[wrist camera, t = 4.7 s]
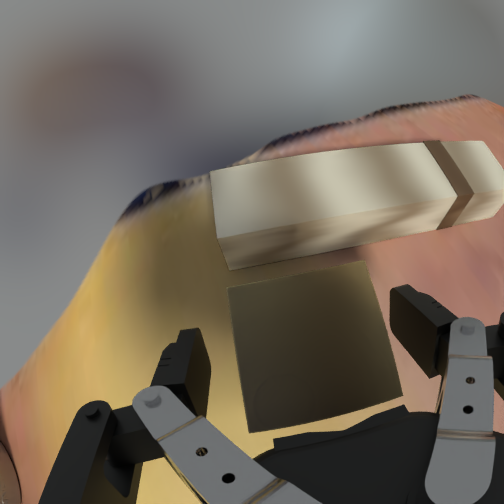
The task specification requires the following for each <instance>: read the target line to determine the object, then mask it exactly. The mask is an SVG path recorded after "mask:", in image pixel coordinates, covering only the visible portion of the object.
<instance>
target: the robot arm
mask: <svg viewBox="0 0 504 504" xmlns="http://www.w3.org/2000/svg"><path fill="white" fill-rule="evenodd" d="M390 327H391V330H392V333H393V334H394V336H395V337H396V338H397V339H398V340H399V342H400V343H401V344H402V345H403V347H404V348H405V349H406V350H407V351H408V353H409V354H410V355H411V356H412V358H413V359H414V360H415V361H416V363H417V364H418V365H419V366H420V368H421V369H422V370H423V371H424V373H425V374H426V375H427V376H428V378H429V379H430V378H432V377H435V376H437V375H441V376H442V377H441V382H440V387H439V392H438V398H437V403H436V408H435V412H434V413H433V412H408V410H407V409H406V407H405V405H401V406H398V407H396V408H393V409H390V410H387V411H384V412H381V413H378V414H375V415H373V416H371V417H369V418H367V419H366V420H364V421H362V422H360V423H358V424H356V425H354V426H352V427H350V428H348V429H346V430H343V431H330V432H307V433H302V434H297V435H292V436H286V437H281V438H275V439H273V442H274V448H273V449H271V450H268V451H266V452H264V453H262V454H260V455H258V456H256V457H255V458H253V459H252V458H250V457H249V456H248V455H247V454H246V453H244V452H243V451H242V450H241V449H240V448H238V447H237V446H236V445H235V444H234V443H232V442H231V441H230V440H229V439H228V438H227V437H226V436H224V435H223V434H222V433H221V432H220V431H219V430H218V429H217V428H215V427H214V426H213V425H212V424H211V423H210V422H209V421H208V420H207V419H206V414H207V405H208V396H209V387H210V378H211V365H210V360H209V356H208V353H207V350H206V347H205V344H204V341H203V337H202V334H201V331H200V329H199V328H192V329H186V330H181V331H180V333H179V336H178V339H177V342H176V343H170V344H169V345H168V346H167V347H166V348H165V349H164V350H163V352H162V355H161V358H160V361H159V363H158V367H157V368H156V371H155V374H154V377H153V379H152V382H151V385H150V387H148V388H145V389H143V390H142V391H140V392H139V393H138V394H137V395H136V396H135V397H134V399H133V402H132V405H130V406H127V407H123V408H119V409H115V410H112V409H111V407H110V405H109V404H108V403H107V402H105V401H101V400H97V401H92V402H89V403H87V404H85V405H84V406H82V407H81V408H80V409H79V410H78V412H77V414H76V416H75V418H74V420H73V422H72V424H71V426H70V429H69V431H68V433H67V435H66V437H65V440H64V442H63V444H62V446H61V449H60V451H59V453H58V456H57V458H56V460H55V463H54V465H53V467H52V470H51V472H50V475H49V477H48V480H47V482H46V485H45V487H44V490H43V493H42V495H41V498H40V501H39V503H38V504H136V500H137V494H138V488H139V482H140V477H141V471H142V466H143V462H146V461H150V460H154V459H158V458H162V457H164V458H165V459H166V461H167V462H168V463H169V465H170V466H171V467H172V468H173V470H174V471H175V472H176V474H177V475H178V476H179V477H180V478H181V480H182V481H183V482H184V483H185V485H186V486H187V487H188V488H189V489H190V491H191V492H192V493H193V494H194V495H195V497H196V498H197V499H198V500H199V501H200V503H201V504H504V434H502V433H499V432H495V431H493V413H494V389H495V390H496V392H497V393H498V394H499V395H500V396H501V398H502V399H503V400H504V312H503V313H502V314H501V316H500V321H499V324H498V325H492V326H486V327H485V326H484V324H483V323H482V322H481V321H480V320H478V319H475V318H471V317H462V318H458V317H457V316H455V315H454V314H453V313H452V312H450V311H449V310H448V309H447V308H445V307H444V306H442V305H441V304H440V303H439V302H437V301H436V300H435V299H434V298H433V297H431V296H430V295H427V294H424V293H421V292H417V291H416V290H415V289H414V288H412V287H411V286H410V285H408V284H406V285H402V286H398V287H395V288H392V289H391V290H390ZM0 504H21V495H20V488H19V483H18V480H17V476H16V473H15V470H14V467H13V464H12V462H11V460H10V458H9V456H8V453H7V452H6V450H5V448H4V446H3V444H2V443H1V442H0Z"/></svg>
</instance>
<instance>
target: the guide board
mask: <svg viewBox="0 0 504 504" xmlns="http://www.w3.org/2000/svg"><path fill="white" fill-rule="evenodd" d="M210 179H211V189H212V198H213V207H214V216H215V225H216V234H217V240H218V242H219V245H220V247H221V250H222V253H223V255H224V258H225V260H226V263H227V265H228V268H229V271H231V270H236V269H241V268H247V267H252V266H257V265H262V264H268V263H273V262H278V261H283V260H288V259H293V258H299V257H304V256H309V255H314V254H319V253H324V252H329V251H334V250H339V249H344V248H349V247H354V246H359V245H364V244H369V243H374V242H378V241H383V240H388V239H393V238H398V237H403V236H407V235H412V234H417V233H422V232H426V231H431V230H439V229H443V228H448V227H452V226H454V225H459V224H463V223H468V222H473V221H477V220H482V219H486V218H491V217H493V216H494V215H495V214H496V213H497V211H498V210H499V209H500V207H501V206H502V205H503V204H504V170H503V168H502V167H501V165H500V164H499V162H498V161H497V160H496V158H495V157H494V155H493V154H492V153H491V151H490V150H489V149H488V147H487V146H486V145H485V143H484V142H483V141H449V142H440V140H438V141H423V143H408V144H394V145H382V146H371V147H361V148H352V149H343V150H335V151H327V152H319V153H312V154H305V155H298V156H291V157H285V158H279V159H273V160H267V161H261V162H256V163H250V164H245V165H239V166H234V167H229V168H224V169H219V170H214V171H210Z"/></svg>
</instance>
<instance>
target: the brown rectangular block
mask: <svg viewBox="0 0 504 504" xmlns="http://www.w3.org/2000/svg"><path fill="white" fill-rule="evenodd" d="M226 289H227V296H228V303H229V310H230V317H231V324H232V331H233V338H234V344H235V351H236V358H237V364H238V371H239V377H240V383H241V389H242V395H243V401H244V407H245V413H246V419H247V425H248V431H249V433H255V432H262V431H269V430H275V429H280V428H286V427H291V426H296V425H301V424H306V423H311V422H315V421H319V420H324V419H328V418H332V417H336V416H340V415H343V414H347V413H351V412H354V411H358V410H361V409H365V408H368V407H371V406H374V405H377V404H381V403H384V402H387V401H390V400H393V399H395V398H398V397H401V396H403V393H402V388H401V384H400V380H399V375H398V371H397V367H396V363H395V359H394V355H393V351H392V348H391V344H390V340H389V337H388V333H387V329H386V326H385V322H384V319H383V316H382V312H381V309H380V306H379V302H378V299H377V296H376V293H375V290H374V287H373V284H372V281H371V278H370V275H369V272H368V269H367V266H366V263H365V260H361V261H357V262H352V263H347V264H343V265H338V266H333V267H328V268H324V269H319V270H314V271H309V272H304V273H299V274H294V275H289V276H284V277H279V278H274V279H268V280H263V281H258V282H253V283H247V284H242V285H237V286H231V287H226Z"/></svg>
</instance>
